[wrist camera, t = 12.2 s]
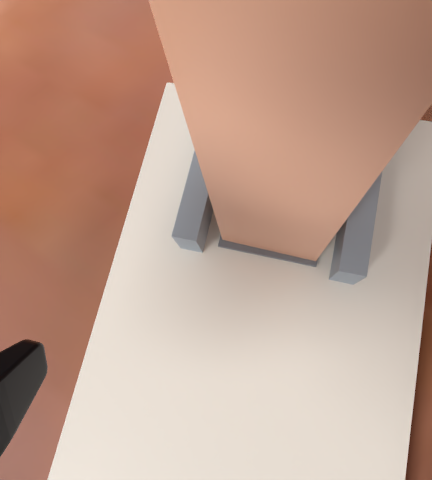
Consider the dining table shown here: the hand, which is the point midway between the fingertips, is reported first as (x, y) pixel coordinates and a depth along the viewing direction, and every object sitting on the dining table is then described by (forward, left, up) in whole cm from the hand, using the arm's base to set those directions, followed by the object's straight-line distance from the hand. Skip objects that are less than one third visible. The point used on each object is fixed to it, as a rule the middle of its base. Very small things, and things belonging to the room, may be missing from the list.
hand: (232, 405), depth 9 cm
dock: (+3, -1, -9) cm, 9 cm away
